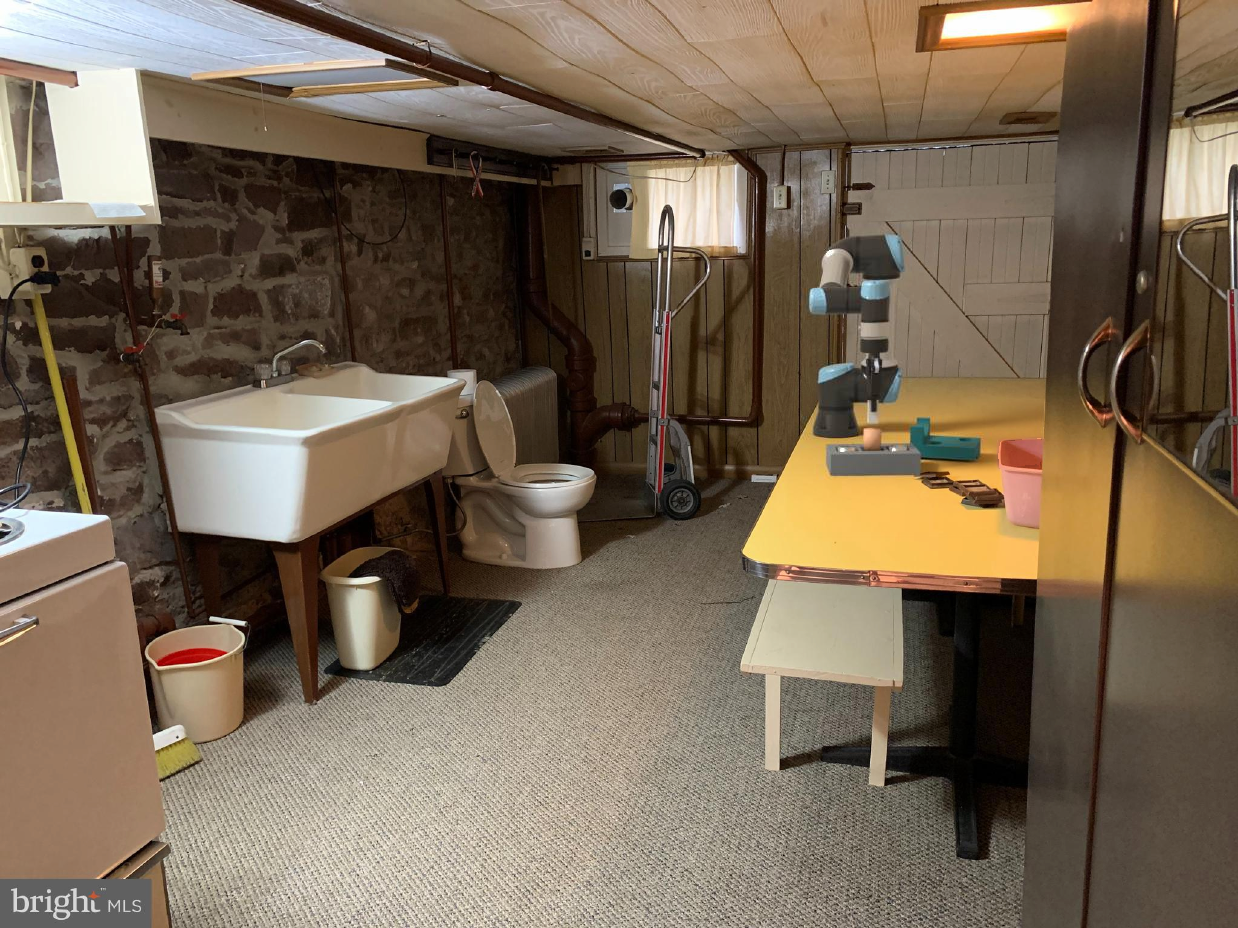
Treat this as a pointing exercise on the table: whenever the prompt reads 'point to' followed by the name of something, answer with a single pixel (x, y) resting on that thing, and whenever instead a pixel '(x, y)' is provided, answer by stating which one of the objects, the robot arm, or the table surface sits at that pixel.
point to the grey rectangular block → (873, 460)
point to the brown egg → (872, 439)
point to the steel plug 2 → (897, 448)
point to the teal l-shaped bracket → (943, 443)
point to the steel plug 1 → (846, 448)
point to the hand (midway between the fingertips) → (872, 422)
